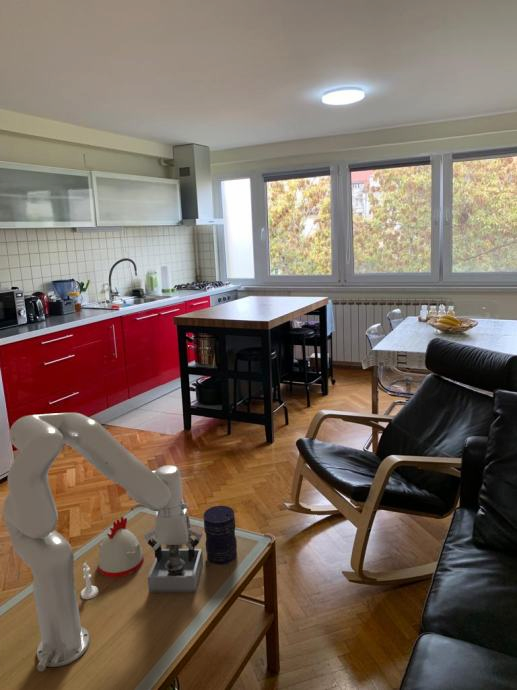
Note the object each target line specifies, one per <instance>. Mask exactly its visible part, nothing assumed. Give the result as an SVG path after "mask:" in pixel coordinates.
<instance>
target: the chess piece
mask: <svg viewBox="0 0 517 690" xmlns="http://www.w3.org/2000/svg"><path fill="white" fill-rule="evenodd" d="M82 566H83V567H84V568H83V569H82V572H83V574H84V575H83V580H85V587H84V588H83V589H82V590H81V592H80V597H81V599H83V600H89V599H93V598H95V597H96V596H97V595H98V594H99V589H98V587H97V586H95V585H92V582H91V577H92V574H91V573H90V570H91V567H90V566H89V565H87V562H84V564H83V565H82Z"/></svg>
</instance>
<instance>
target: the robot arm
mask: <svg viewBox="0 0 517 690" xmlns="http://www.w3.org/2000/svg"><path fill="white" fill-rule="evenodd" d="M8 437H9V441H10V442H11V444H12V445H13V446H14V447H15V448H16V449H17V450H18V451H19V452H18V454H17V456H16V457H15V459H14V460H13V461H12V464H11V466H10V469H9V471H8V474H7V485H8V490H9V493H8V494H7V496H5V497H6V498H5V499H4V502H3V506H2V514H3V518H4V522H5V526H6V528H7V531H8V534H9V537H10V541H11V544H12V546H13V549H14V551H15V552H16V554H17V555H18V556H19V558H20V559H21V560H22V561H23V562H24V563H25V565H26V566H28V567H29V569H30V570H31V572H32V575H33V584H32V585H33V586H32V591H33V598H34V604H35V610H36V615H37V621H38V626H39V632H40V633H39V634H40V639H41V641H40V642H39V643H38V646H37V648H36V656H37V661H38V664H37V666H36V669H37V671H38V672H43V671H45V669H46V668H47V667H49V668H51V667H52V668H57V667H62V666H66V665H69V664H71V663H72V662H74V661H75V660H78V659H79V658H80V657H81V656H82V655H83V654H85V652H86V650H87V649H88V647H89V645H90V633H89V631H88V630H87V629H86V628H85V627H83V626H82V623H81V618H80V617H81V616H80V609H79V604H78V603H79V602H78V597H77V590H76V582H75V575H74V572H75V571H74V566H75V565H74V564H75V554H74V550H73V548H72V546H71V544H70V543H69V542H68V540H67V539H66V538H65V537H64V536H62V535H61V534H60V533H59V532H58V531H56V530H55V529H56V528H57V525H58V521H59V513H58V508H57V506H56V503H55V499H54V496H53V491H52V489H51V485H50V480H49V471H50V469H51V467H52V466H53V463H55V461H56V459H57V458H58V457H59V456H60V454H61V452H62V450H63V447H64V445H67V446H69V447H70V448H72V449H73V450H75V451H76V452H77V453H78V454H79V455H81V456H82V457H83V458H84V459H85V460H86V461H87V462H89V464H90V465H92V466H93V468H95V469H96V470H98V471H99V473H101V475H103V476H105V477H106V478H107V479H109V480H110V481H111V482H113V483H114V484H116V485H119V486H120V487H122V488H124V489H125V492H126V495H127V496H128V497H129V498H130V499H132V500H133V501H134V502H137V504H140V505H141V506H143V507H145V508H146V509H148V510H149V511H152V512H155V519H154V528H153V529H151V530H149V531H147V532H145V533H144V536H143V537H144V539H145V541H146V542H147V544H148V545H149V546H150V547H151V548H152V550H153V551H154V556H155V557H154V558H157V562H160V560H161V557H162V551H161V549H162V546H169V545H178V546H179V545H180V546H183V545H185V546H186V547H187V549H188V555H189V561H190V562H192V559H193V558H194V557H195V550H194V549H195V548H196V547H197V546H198V545H199V543H200V541H201V539H202V537H203V533H202V532H201V531H198V530H196V529H194V528H192V525H191V521H190V516H189V513H188V509H189V503H185V502H184V501H185V500H184V498H183V487H182V476H181V471H180V468H179V467H178V466H176V465H173V464H172V465H171V464H167V465H166V464H165V465H162V466H159V467H158V468H156V469H155V470H151V469H150V468H149V467H147V465H145V464H144V463H143V462H141V461H140V460H139V459H138V458H137V457H136V456H135V455H134V454H133V453H132V452H131V451H129V450H127V448H126V447H124V446H123V444H121V443H120V442H119V441H118V440H117V439H116V438H115V437H114V436H113V435H112V433H110V432H109V431H108V430H107V429H106V428H105V427H104V426H103V425H101V423H99V422H98V421H97V420H95V419H93V418H90V417H88V416H87V415H85V414H82V413H79V412H60V413H59V412H58V413H44V414H43V413H42V414H30V415H24V416H21V417H20V418H18V419H17V420H16V421H14V422H13V424H12V425H11V427H10V429H9V436H8ZM192 536H193V537H195V538H194V539H193V538H192ZM152 537H154V538H155V539H154V538H152Z"/></svg>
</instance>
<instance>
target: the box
mask: <svg viewBox="0 0 517 690" xmlns="http://www.w3.org/2000/svg"><path fill="white" fill-rule="evenodd" d="M188 549H189V548H179V550H180V554H179V556H180V558H181V559H183V560H184V561H185V565H184V568H183V570H184V572H185V575H184V576H167V574H168V571H167V569H166V567H165V564H166V563H167V562H168V561H169V560H170V557H169V555H168V552H169V548H161V551H162V557H161V560H160V562H157V558H155V557H154V558H155V559H153V560H154V561H153V563H152V565H151V567H150V568H151V569H150V570H149V573H148V576H147V586H148V592H149V594H152V593H153V594H155V593H156V594H157V593H158V594H160V593H161V594H162V593H163V594H165V593H166V594H171V593H173V594H174V593H175V594H179V593H181V594H182V593H185V594H187V593H189V594H191V593H192V594H195V593H196V591H197V588H198V583H199V580H200V577H201V572H202V568H203V564H204V559H203V557H204V556H203V549H202V548H194V550H195V557H194V558H193V559H192V562H190V561H189V555H188Z"/></svg>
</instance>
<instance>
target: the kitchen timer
mask: <svg viewBox="0 0 517 690" xmlns="http://www.w3.org/2000/svg"><path fill="white" fill-rule="evenodd" d="M127 523H128V518H127V517H123V516H120V520H119V519H116V521H113V522H112V527H110V528H109V530H110V531H109V532H108V533H107V534H106V536H105V537H104V539H103V540H102V543H99V554H98V560H97V563H98V565H97V566H98V570H99V572H100V574H102V575H103V576H105V577H108V578H120V577H121V578H122V577H125V576H128V575H130V574H132V573H135V572H136V571H137V570H139V569H140V568H141V567H142V565H143V563H144V560H145V559H144V551H143V548H142V546H141V544H140V542H139V540H138V539H137V537H136V536H135V534H134V533H133V532H131V531H130V530H128V529H126V528H127Z"/></svg>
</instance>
